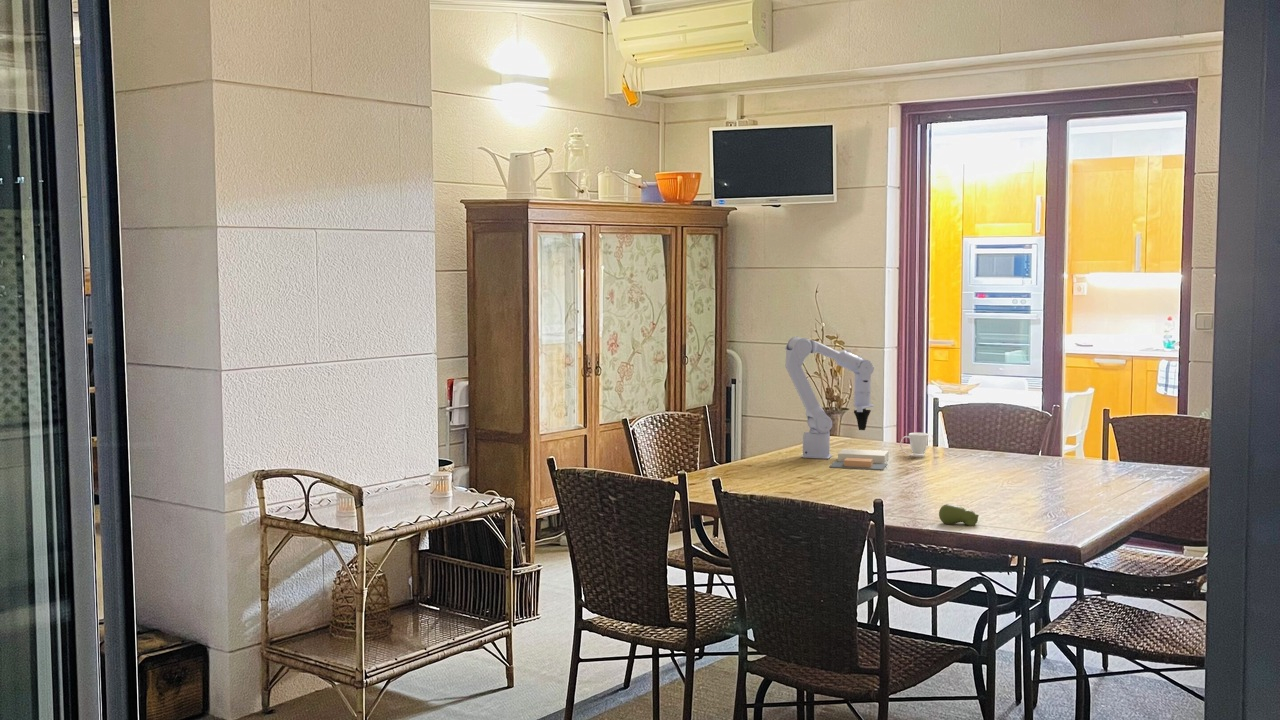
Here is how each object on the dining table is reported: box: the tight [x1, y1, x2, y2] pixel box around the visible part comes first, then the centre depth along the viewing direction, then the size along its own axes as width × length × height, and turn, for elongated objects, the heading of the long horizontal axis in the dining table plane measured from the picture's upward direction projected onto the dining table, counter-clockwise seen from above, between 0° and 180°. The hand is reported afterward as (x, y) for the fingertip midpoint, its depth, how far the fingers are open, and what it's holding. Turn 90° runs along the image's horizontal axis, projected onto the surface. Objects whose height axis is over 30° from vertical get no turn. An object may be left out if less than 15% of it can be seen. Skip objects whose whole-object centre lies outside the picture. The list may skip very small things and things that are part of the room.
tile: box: [844, 458, 873, 468], centre depth 397 cm, size 9×6×2 cm, turn 72°
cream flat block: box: [837, 448, 889, 464], centre depth 410 cm, size 16×12×3 cm
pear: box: [938, 503, 980, 527], centre depth 305 cm, size 6×5×10 cm
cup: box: [899, 432, 930, 458], centre depth 421 cm, size 7×10×8 cm
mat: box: [829, 460, 888, 471], centre depth 398 cm, size 18×12×1 cm, turn 72°
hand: (862, 429), depth 420 cm, fingers closed
